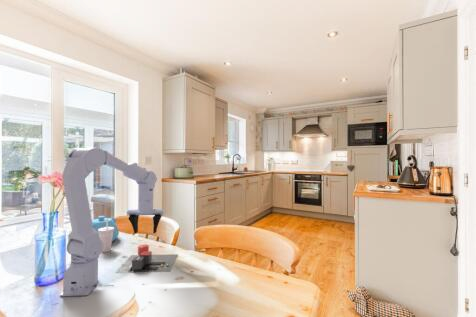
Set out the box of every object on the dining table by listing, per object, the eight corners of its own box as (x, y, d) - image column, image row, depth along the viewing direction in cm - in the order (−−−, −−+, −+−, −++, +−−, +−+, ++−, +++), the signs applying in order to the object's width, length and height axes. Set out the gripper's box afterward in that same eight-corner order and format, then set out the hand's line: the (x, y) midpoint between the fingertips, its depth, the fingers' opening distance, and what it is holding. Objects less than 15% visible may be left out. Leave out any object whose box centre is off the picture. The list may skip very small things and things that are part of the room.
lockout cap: (146, 258, 90) (146, 248, 90) (136, 258, 90) (136, 248, 90) (149, 254, 94) (150, 244, 94) (139, 254, 94) (140, 244, 94)
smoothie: (117, 248, 105) (117, 217, 105) (107, 253, 99) (108, 221, 99) (103, 247, 106) (104, 217, 106) (93, 252, 99) (94, 220, 99)
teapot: (98, 250, 102) (98, 222, 102) (61, 247, 106) (61, 219, 106) (128, 236, 121) (128, 212, 121) (95, 234, 125) (96, 210, 125)
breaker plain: (141, 269, 81) (141, 259, 81) (131, 269, 81) (132, 260, 81) (144, 265, 84) (144, 256, 84) (135, 265, 84) (135, 256, 84)
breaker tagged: (148, 264, 85) (149, 254, 85) (140, 264, 85) (140, 254, 85) (151, 260, 88) (151, 251, 88) (142, 260, 88) (143, 251, 88)
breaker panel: (170, 274, 81) (170, 268, 81) (114, 276, 79) (114, 270, 79) (178, 257, 96) (178, 251, 96) (131, 258, 94) (131, 252, 94)
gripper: (166, 198, 99) (165, 229, 99) (131, 198, 98) (131, 229, 98) (161, 200, 92) (161, 234, 92) (124, 201, 91) (124, 235, 91)
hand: (145, 232), depth 95 cm, fingers open, 7 cm apart
